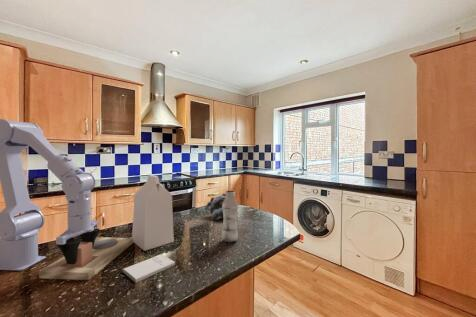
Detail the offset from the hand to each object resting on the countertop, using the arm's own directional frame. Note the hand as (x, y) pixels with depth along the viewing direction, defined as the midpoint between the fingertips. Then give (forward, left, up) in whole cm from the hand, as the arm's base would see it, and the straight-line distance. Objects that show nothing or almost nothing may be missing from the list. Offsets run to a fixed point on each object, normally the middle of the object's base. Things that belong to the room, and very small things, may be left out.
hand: (79, 258), depth 67 cm
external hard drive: (+21, +1, -4) cm, 21 cm away
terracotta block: (0, 0, -3) cm, 3 cm away
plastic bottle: (+44, +23, -3) cm, 50 cm away
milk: (+14, +21, -3) cm, 25 cm away
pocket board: (0, +6, -3) cm, 7 cm away
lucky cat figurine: (+38, +54, -3) cm, 66 cm away
